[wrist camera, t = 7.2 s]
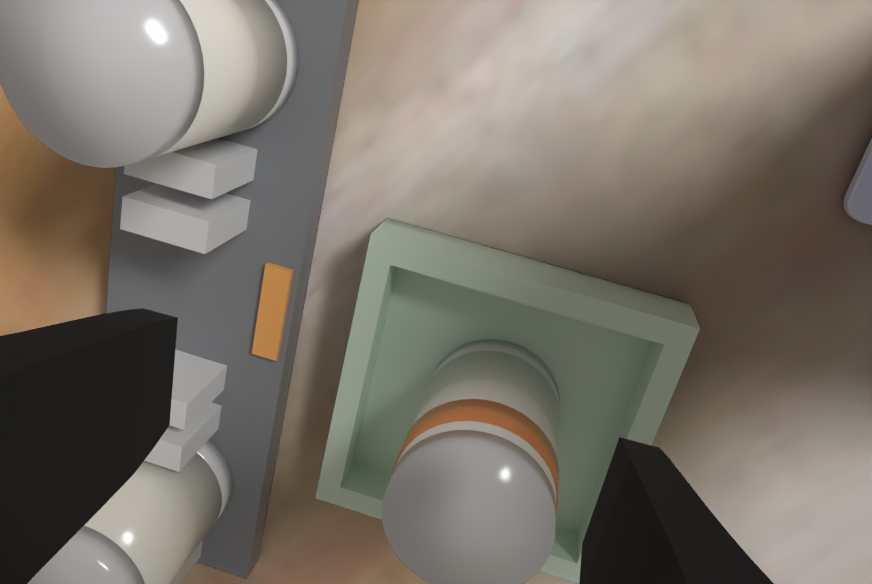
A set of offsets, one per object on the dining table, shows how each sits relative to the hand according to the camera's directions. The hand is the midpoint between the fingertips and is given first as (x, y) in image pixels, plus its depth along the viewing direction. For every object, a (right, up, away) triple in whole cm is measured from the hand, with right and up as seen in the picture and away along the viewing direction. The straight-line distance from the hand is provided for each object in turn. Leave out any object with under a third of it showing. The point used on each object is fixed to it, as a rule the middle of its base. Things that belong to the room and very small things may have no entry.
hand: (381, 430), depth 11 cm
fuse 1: (-5, +9, +8) cm, 13 cm away
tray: (+3, -1, +11) cm, 11 cm away
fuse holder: (-6, +3, +12) cm, 13 cm away
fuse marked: (+3, -1, +11) cm, 11 cm away
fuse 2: (-8, -4, +13) cm, 16 cm away
